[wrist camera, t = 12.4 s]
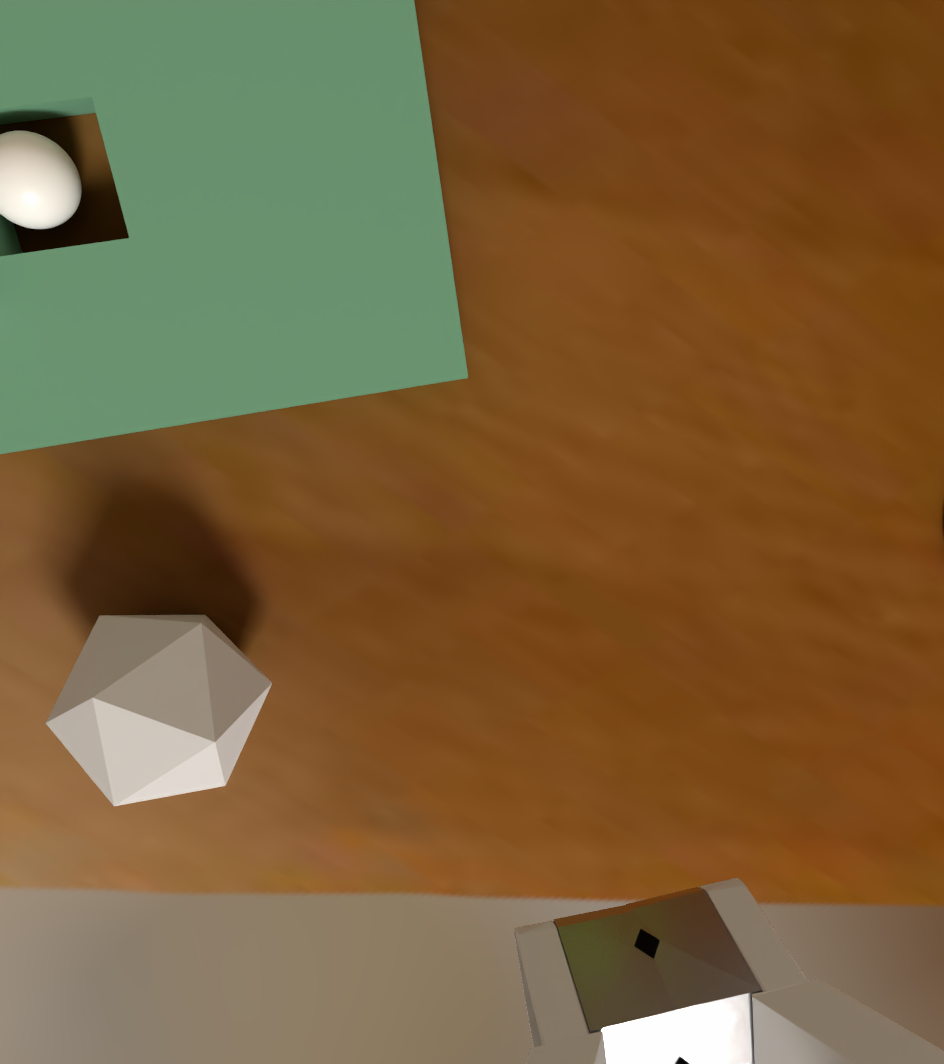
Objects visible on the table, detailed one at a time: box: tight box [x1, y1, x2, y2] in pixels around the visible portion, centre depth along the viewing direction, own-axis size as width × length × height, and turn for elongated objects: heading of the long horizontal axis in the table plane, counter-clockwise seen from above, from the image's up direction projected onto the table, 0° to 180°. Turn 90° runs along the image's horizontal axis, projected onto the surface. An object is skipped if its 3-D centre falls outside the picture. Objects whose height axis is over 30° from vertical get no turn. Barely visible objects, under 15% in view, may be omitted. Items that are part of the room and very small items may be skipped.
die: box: [46, 615, 272, 806], centre depth 35 cm, size 8×9×10 cm
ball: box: [0, 131, 82, 229], centre depth 30 cm, size 4×4×4 cm
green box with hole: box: [0, 0, 468, 454], centre depth 30 cm, size 20×20×6 cm
